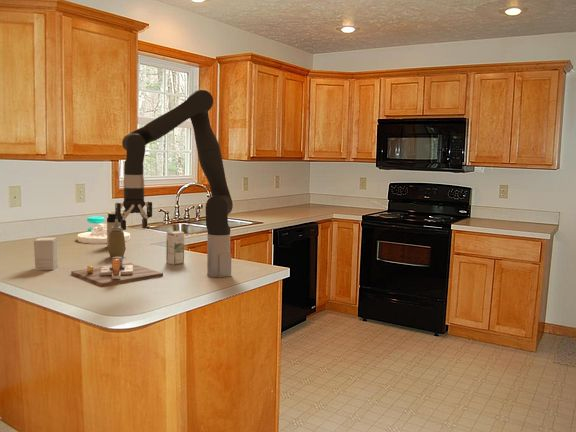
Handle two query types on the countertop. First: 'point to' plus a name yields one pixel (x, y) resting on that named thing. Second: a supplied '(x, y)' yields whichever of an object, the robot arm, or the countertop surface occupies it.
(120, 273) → the square frame with handle
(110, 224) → the travel mug
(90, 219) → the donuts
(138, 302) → the countertop surface
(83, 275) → the post board
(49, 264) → the supplement box
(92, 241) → the cake
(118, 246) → the squeeze bottle
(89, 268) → the gold rounded piece
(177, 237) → the syrup box
